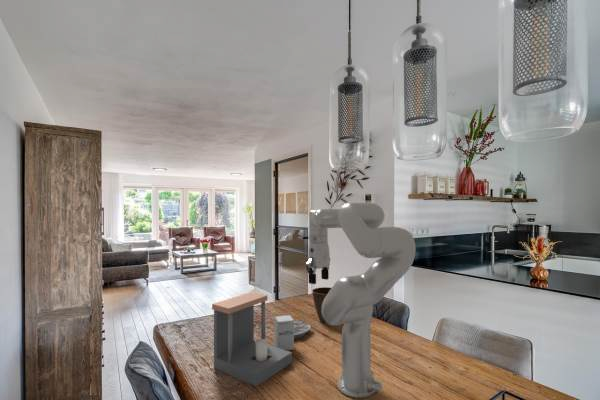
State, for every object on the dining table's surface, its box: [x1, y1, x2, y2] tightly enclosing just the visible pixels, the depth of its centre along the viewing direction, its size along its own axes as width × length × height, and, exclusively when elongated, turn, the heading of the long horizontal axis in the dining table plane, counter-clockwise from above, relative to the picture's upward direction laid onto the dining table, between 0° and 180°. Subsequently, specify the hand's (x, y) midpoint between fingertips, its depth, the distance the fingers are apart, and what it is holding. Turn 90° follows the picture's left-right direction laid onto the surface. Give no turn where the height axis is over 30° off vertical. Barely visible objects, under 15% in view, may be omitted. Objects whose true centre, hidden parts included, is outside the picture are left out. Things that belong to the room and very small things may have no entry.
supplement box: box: [273, 315, 295, 351], centre depth 136 cm, size 7×7×13 cm
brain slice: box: [294, 320, 312, 340], centre depth 152 cm, size 20×17×3 cm
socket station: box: [211, 291, 293, 387], centre depth 120 cm, size 22×21×24 cm
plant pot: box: [311, 286, 332, 324], centre depth 168 cm, size 15×15×16 cm
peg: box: [255, 338, 268, 363], centre depth 118 cm, size 4×4×10 cm
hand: (318, 281), depth 128 cm, fingers open, 9 cm apart
